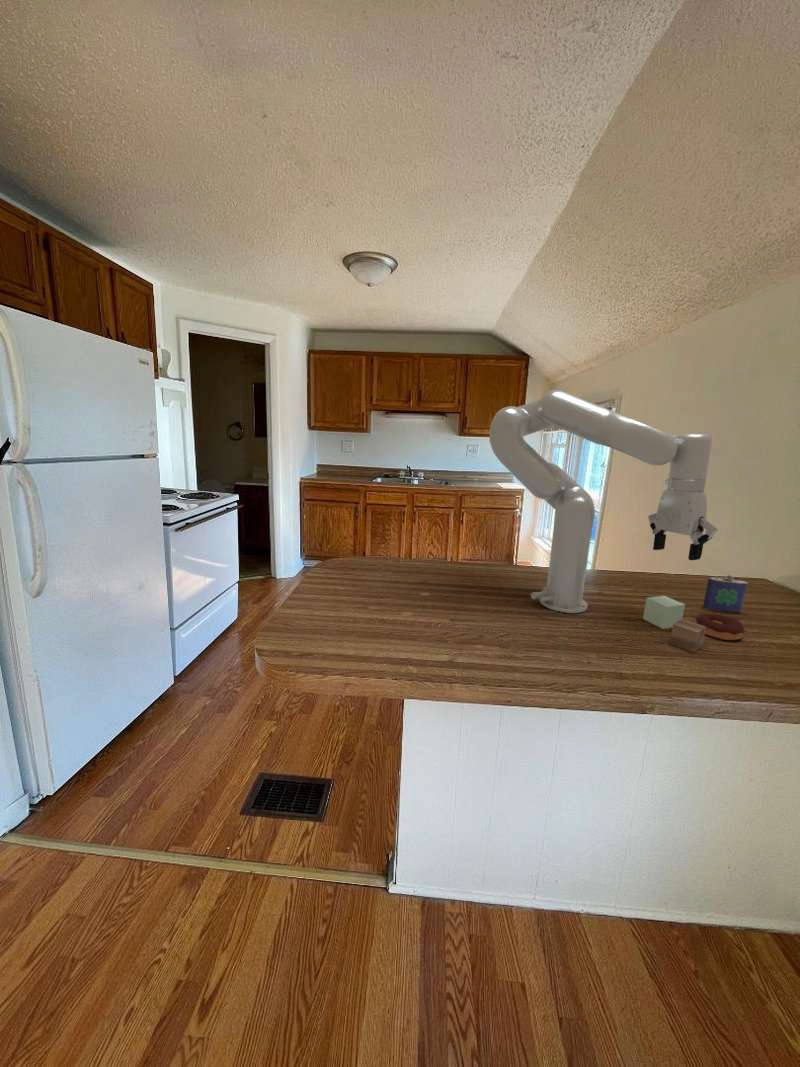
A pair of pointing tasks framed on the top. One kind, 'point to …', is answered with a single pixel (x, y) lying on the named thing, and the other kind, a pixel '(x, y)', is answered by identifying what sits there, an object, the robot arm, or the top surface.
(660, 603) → the sage block
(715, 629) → the donut
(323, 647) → the top surface
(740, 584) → the flask
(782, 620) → the top surface
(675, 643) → the walnut block
